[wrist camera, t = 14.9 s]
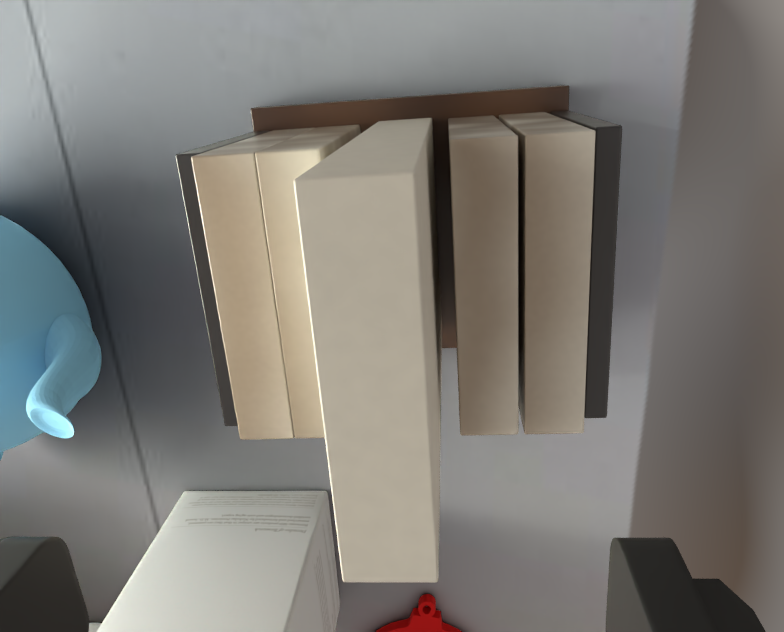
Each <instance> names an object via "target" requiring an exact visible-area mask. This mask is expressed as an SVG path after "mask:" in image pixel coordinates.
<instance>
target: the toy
mask: <svg viewBox="0 0 784 632" xmlns="http://www.w3.org/2000/svg"><path fill="white" fill-rule="evenodd" d="M100 625H101V623H89V632H97V630H98V629H99V627H100Z"/></svg>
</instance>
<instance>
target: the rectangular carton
mask: <svg viewBox="0 0 784 632" xmlns="http://www.w3.org/2000/svg"><path fill="white" fill-rule="evenodd" d="M339 609H340V597H339V588H338V579H337V570H336V560H335V552H334V543H333V534H332V525H331V516H330V507H329V499H328V493H327V492H326V491H185V492H184V493H183V494H182V496H181V497H180V499H179V500H178V502H177V504H176V505H175V507H174V508H173V510H172V512H171V513H170V515H169V517H168V518H167V520H166V521H165V523H164V524H163V526H162V528H161V529H160V531H159V533H158V534H157V536H156V537H155V539H154V540H153V542H152V544H151V545H150V547H149V548H148V550H147V552H146V553H145V555H144V556H143V558H142V560H141V561H140V563H139V565H138V566H137V568H136V569H135V571H134V573H133V574H132V576H131V577H130V579H129V581H128V582H127V584H126V585H125V587H124V589H123V590H122V592H121V593H120V595H119V597H118V598H117V600H116V601H115V603H114V605H113V606H112V608H111V610H110V611H109V613H108V614H107V616H106V618H105V619H104V621H103V622H102V624H101V625H100V627H99V629H98V630H97V632H335V629H336V624H337V619H338V614H339Z"/></svg>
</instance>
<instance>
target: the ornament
mask: <svg viewBox="0 0 784 632" xmlns="http://www.w3.org/2000/svg"><path fill="white" fill-rule="evenodd" d="M426 605H428V606H427V607H426ZM376 632H462V631H460V630H459V629H457V628H455V627H453V626H451V625H449V624H446V623H443V622H442V618H441V611H439V610H436V600H435V598H434V597H433V596H432V595H430V594H424V595H422V596H421V597H420V599H419V604H418V608H413V610H412V613H411V615H410V617H409V618H408V619H405V620H400V621H396V622H393V623H390V624H388V625H385V626H383V627H382V628H380V629H378V630H377V631H376Z"/></svg>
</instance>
